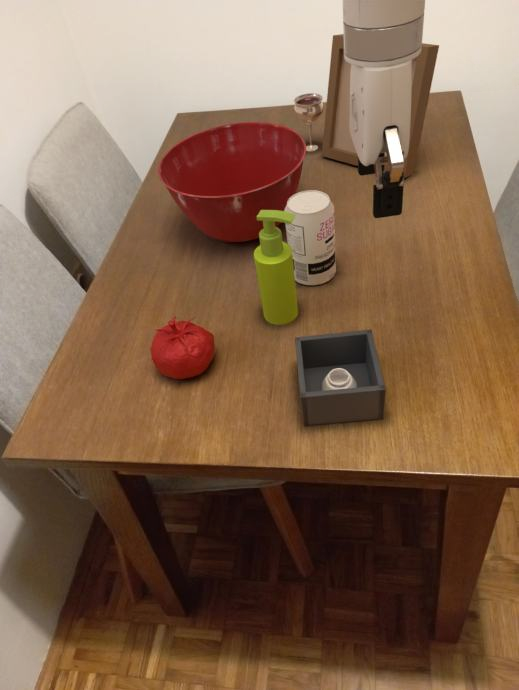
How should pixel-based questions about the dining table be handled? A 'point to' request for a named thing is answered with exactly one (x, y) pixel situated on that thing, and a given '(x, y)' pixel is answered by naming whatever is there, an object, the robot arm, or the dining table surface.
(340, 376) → the white jar
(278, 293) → the soap dispenser
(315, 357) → the grey open box
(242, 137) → the mixing bowl
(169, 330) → the red tomato
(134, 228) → the dining table surface
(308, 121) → the wineglass
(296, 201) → the supplement can
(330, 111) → the photo frame
